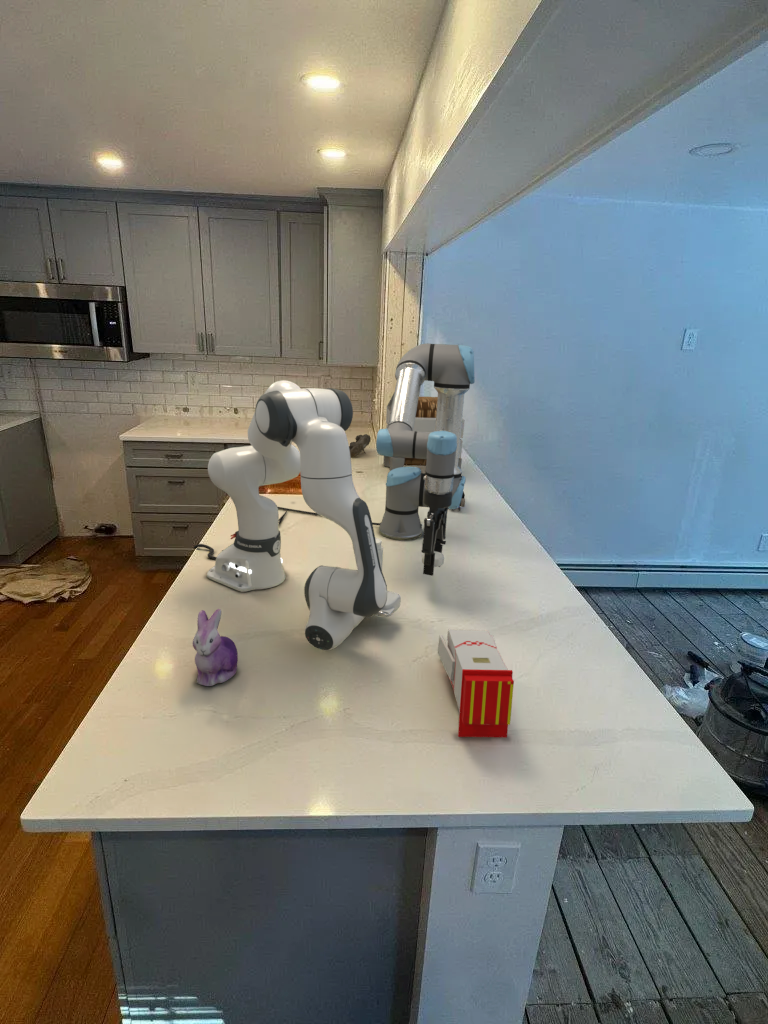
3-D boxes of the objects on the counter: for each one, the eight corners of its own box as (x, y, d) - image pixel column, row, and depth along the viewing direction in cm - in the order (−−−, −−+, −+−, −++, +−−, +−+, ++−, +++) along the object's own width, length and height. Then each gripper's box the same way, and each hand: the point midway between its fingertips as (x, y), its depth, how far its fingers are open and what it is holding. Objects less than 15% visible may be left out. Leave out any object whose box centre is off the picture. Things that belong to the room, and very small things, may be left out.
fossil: (346, 440, 316) (367, 425, 311) (357, 453, 319) (378, 438, 314) (340, 453, 296) (362, 438, 291) (351, 468, 299) (374, 452, 294)
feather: (294, 505, 227) (296, 501, 226) (277, 528, 200) (280, 524, 199) (290, 503, 226) (292, 499, 226) (273, 526, 200) (276, 521, 199)
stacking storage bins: (382, 463, 289) (386, 382, 275) (445, 464, 293) (451, 384, 279) (390, 482, 257) (394, 392, 243) (460, 483, 261) (468, 394, 247)
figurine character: (465, 515, 224) (460, 499, 237) (467, 498, 221) (462, 483, 234) (448, 515, 224) (444, 499, 237) (450, 498, 220) (445, 482, 234)
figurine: (199, 693, 114) (193, 629, 109) (190, 666, 122) (184, 604, 117) (245, 682, 118) (242, 619, 113) (233, 656, 127) (230, 596, 122)
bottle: (369, 612, 148) (371, 545, 141) (356, 604, 151) (358, 539, 145) (384, 606, 151) (387, 541, 145) (371, 598, 155) (374, 534, 148)
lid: (436, 556, 161) (437, 549, 160) (447, 565, 156) (448, 557, 155) (418, 559, 159) (418, 552, 158) (428, 568, 154) (429, 560, 153)
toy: (488, 613, 130) (523, 677, 101) (484, 667, 133) (517, 744, 104) (435, 612, 130) (455, 676, 101) (432, 666, 133) (451, 743, 103)
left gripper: (389, 605, 133) (410, 581, 145) (313, 586, 140) (338, 565, 152) (388, 628, 135) (408, 603, 147) (313, 609, 142) (338, 586, 154)
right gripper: (436, 480, 160) (430, 555, 168) (412, 497, 144) (407, 580, 151) (461, 484, 157) (454, 560, 165) (440, 502, 141) (434, 586, 149)
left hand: (372, 583), depth 150 cm, fingers closed on bottle, 5 cm apart
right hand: (432, 569), depth 158 cm, fingers closed on lid, 6 cm apart
